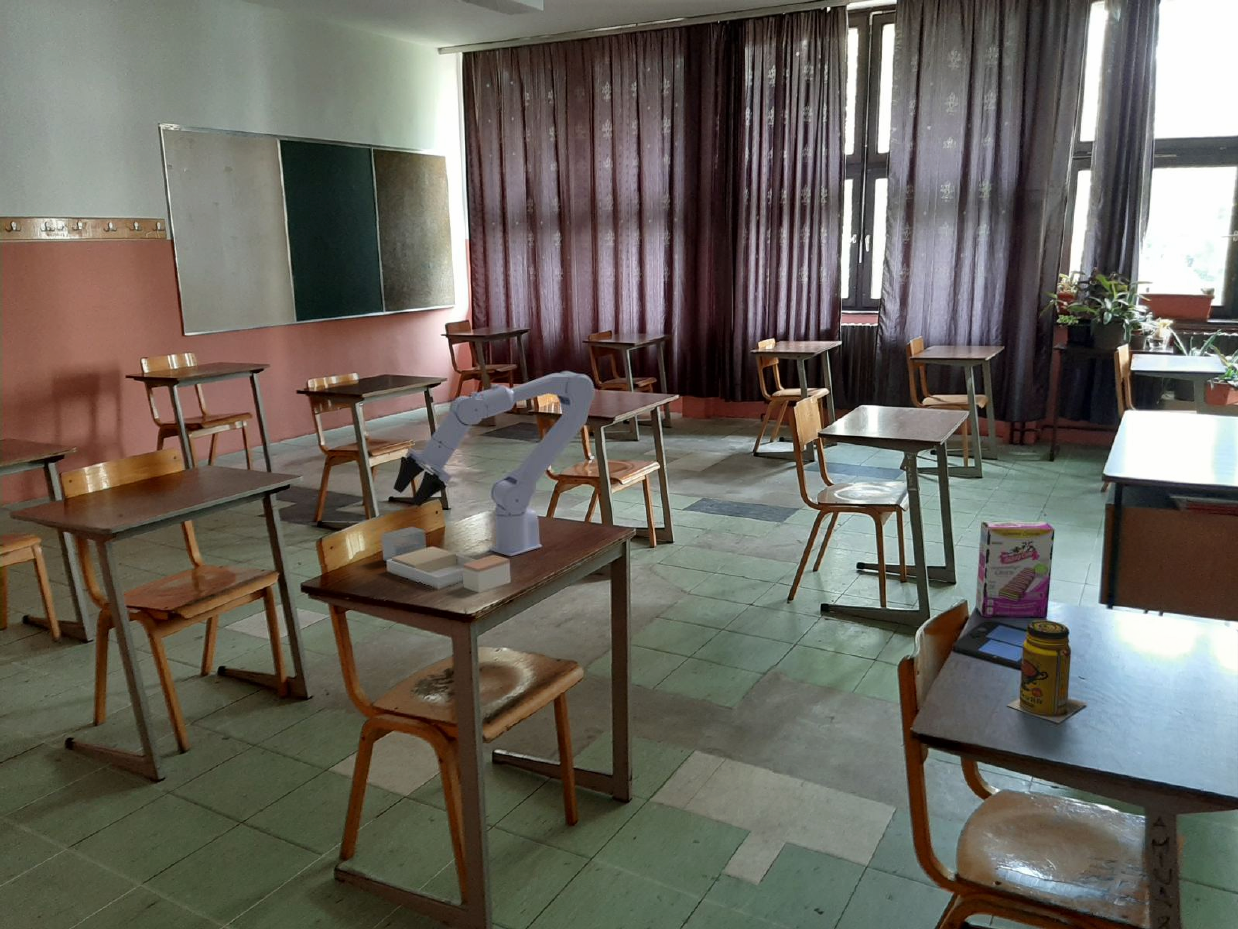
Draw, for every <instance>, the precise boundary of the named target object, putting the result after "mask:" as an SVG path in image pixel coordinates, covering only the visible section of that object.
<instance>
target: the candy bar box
mask: <svg viewBox="0 0 1238 929" xmlns="http://www.w3.org/2000/svg"><path fill="white" fill-rule="evenodd" d="M980 522H981V523H980V537H979V548H978V564H977V565H978V566H977V578H976V580H977V581H976V592H975V593H976V594H975V609H976V610H977V609H978V610H977V611H978V613H979V612H980V613H981V614H980V613H979V614H980V615H982V616H985V617H984V618H1024V617H1047V618H1048V609H1049V601H1050V600H1049V598H1050V597H1049V596H1050V587H1051V577H1052V576H1051V574H1052V567H1053V566H1052V565H1053V552H1054V541H1055V531H1056V530H1055V528H1054V527H1053V526H1052V525H1050V524H1049V523H1047V522H1046V521H1018V520H1017V521H1014V520H1013V521H1011V520H1009V521H1006V520H1005V521H1003V520H981V521H980ZM976 605H978V606H976ZM982 616H981V617H982Z"/></svg>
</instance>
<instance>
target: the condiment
mask: <svg viewBox="0 0 1238 929" xmlns="http://www.w3.org/2000/svg"><path fill="white" fill-rule="evenodd" d="M1026 629H1027V634H1026V641H1024V643H1023V649H1022V650H1023V653H1022V668H1021V670H1020V671H1021V672H1020V674H1021V675H1020V684H1019V685H1020V686H1019V698H1017V699H1016V700H1014V701H1012V702H1010V703H1009V704H1007V706H1008V707H1011V708H1014V709H1015V710H1019V711H1020V712H1023V713H1026V714H1028V715H1031V716H1034V717H1038V718H1041V719H1044V720H1048V721H1051V722H1054V723H1057V724H1059V723H1061V722H1063V721H1065V720H1067V719H1068V718H1069V717H1070V716H1072V715H1073V714H1075V713H1076V712H1077V711H1079V710H1081V709H1082V708H1083V707H1084V706H1086V705H1087V704H1088V702H1085V701H1080V700H1075V699H1072V698H1069V689H1070V688H1069V684H1070V673H1071V672H1070V671H1071V669H1070V668H1071V660H1072V659H1071V658H1072V656H1071V655H1072V648H1071V647H1070V645H1069V643H1070V639H1069V638H1070V637H1069V636H1070V631H1069V630H1070V629H1069V628H1068V627H1067V626H1066V625H1064V624H1062V623H1059V622H1057V621H1052V620H1043V619H1042V620H1033V621H1030V622H1029V623H1028V624H1027V627H1026Z"/></svg>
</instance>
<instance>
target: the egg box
mask: <svg viewBox="0 0 1238 929" xmlns="http://www.w3.org/2000/svg"><path fill="white" fill-rule="evenodd" d="M462 568H463V582H462V583H463V588H465V589H467V590H470V591H474V592H476V593H478V594H479V593H482V592H486V591H489V590H492V589H495V588H498V587H501V586H504V585H507V584H510V583H511V581H512V580H511V560H510V559H509V558H506V557H503V556H499V555H497V554H496V555H495V554H492V555H488V556H485V557H482V558H479V559H475V561H471V562H468V563H465V564H462Z"/></svg>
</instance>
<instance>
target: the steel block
mask: <svg viewBox="0 0 1238 929" xmlns="http://www.w3.org/2000/svg"><path fill="white" fill-rule="evenodd" d="M380 536H381V546H382V557H383V558H382V559H383V561H386V560H389V559H392V557H396V556H400V555H403V554H407V553H411V552H414V551H418V550H421V549H425V548H427V539H426V538H427V537H426V530H425V529H421V528H418V527H415V526H409V527H406V528H401V529H398V530H393V531H389V532H385V533H382V534H381V535H380ZM386 562H387V561H386Z"/></svg>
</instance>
